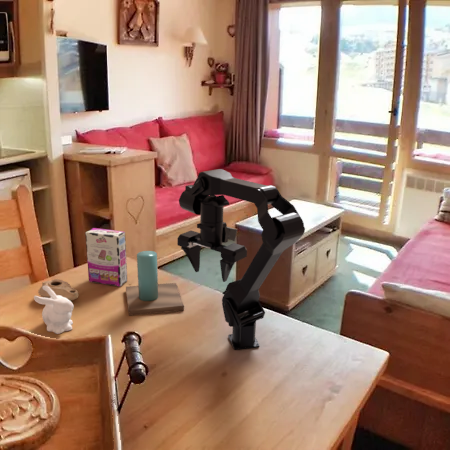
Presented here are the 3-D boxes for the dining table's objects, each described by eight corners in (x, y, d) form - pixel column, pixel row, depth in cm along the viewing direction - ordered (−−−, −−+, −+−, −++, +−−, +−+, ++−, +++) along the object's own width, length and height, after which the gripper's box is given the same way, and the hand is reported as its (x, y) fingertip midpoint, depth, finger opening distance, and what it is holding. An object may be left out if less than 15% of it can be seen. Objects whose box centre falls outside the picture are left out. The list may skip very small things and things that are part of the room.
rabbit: (78, 333, 130) (74, 290, 127) (39, 341, 126) (34, 297, 123) (69, 312, 141) (66, 272, 137) (33, 319, 137) (28, 278, 133)
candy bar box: (128, 280, 160) (126, 231, 155) (120, 287, 156) (118, 236, 151) (96, 275, 164) (93, 226, 158) (87, 282, 159) (84, 232, 154)
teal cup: (153, 302, 144) (151, 258, 140) (135, 299, 145) (133, 256, 141) (161, 294, 149) (160, 252, 145) (144, 291, 150) (142, 249, 146)
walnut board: (183, 310, 143) (183, 305, 143) (129, 315, 140) (128, 310, 139) (175, 287, 157) (175, 282, 156) (126, 291, 154) (125, 286, 153)
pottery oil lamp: (67, 310, 141) (52, 290, 138) (44, 310, 149) (30, 291, 146) (88, 288, 147) (74, 269, 144) (65, 290, 155) (51, 271, 152)
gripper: (260, 219, 130) (257, 276, 135) (203, 205, 140) (202, 258, 145) (234, 231, 121) (232, 290, 126) (175, 214, 132) (176, 270, 137)
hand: (210, 276), depth 134 cm, fingers open, 9 cm apart
